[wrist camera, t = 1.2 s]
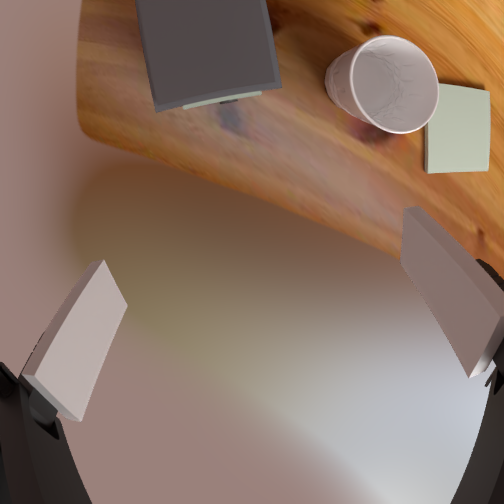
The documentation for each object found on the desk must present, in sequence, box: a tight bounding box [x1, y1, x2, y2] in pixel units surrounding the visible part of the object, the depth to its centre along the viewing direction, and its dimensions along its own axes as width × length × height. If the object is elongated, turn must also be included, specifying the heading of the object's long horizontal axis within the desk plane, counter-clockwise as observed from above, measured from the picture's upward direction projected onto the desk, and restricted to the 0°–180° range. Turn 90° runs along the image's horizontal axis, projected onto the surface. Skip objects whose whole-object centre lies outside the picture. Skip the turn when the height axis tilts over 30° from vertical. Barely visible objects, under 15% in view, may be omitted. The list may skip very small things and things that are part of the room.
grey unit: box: [135, 0, 282, 113], centre depth 19 cm, size 11×8×13 cm
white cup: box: [324, 35, 439, 134], centre depth 21 cm, size 8×8×10 cm
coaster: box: [425, 83, 490, 173], centre depth 27 cm, size 11×11×1 cm
